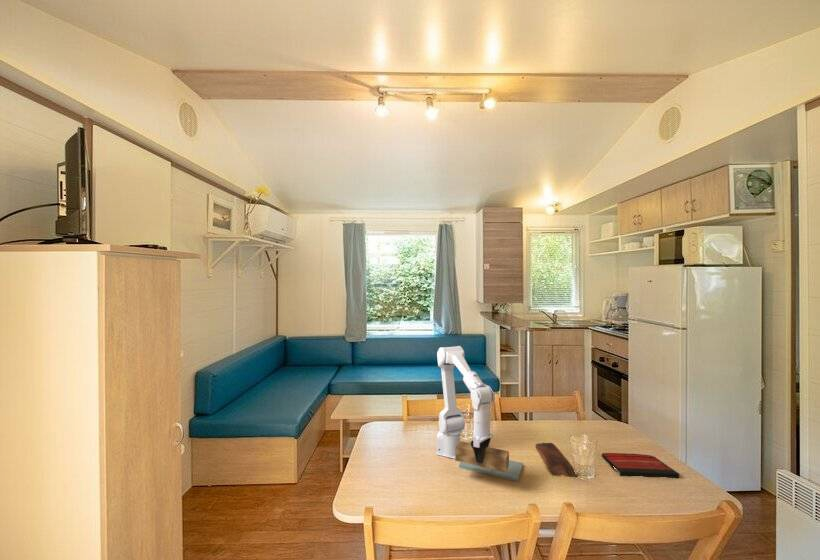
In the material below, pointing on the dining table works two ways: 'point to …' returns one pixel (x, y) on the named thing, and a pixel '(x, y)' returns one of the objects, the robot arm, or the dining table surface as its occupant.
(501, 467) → the walnut bar
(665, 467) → the binder
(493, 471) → the ridge stand
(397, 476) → the dining table surface
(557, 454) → the wooden tablet
